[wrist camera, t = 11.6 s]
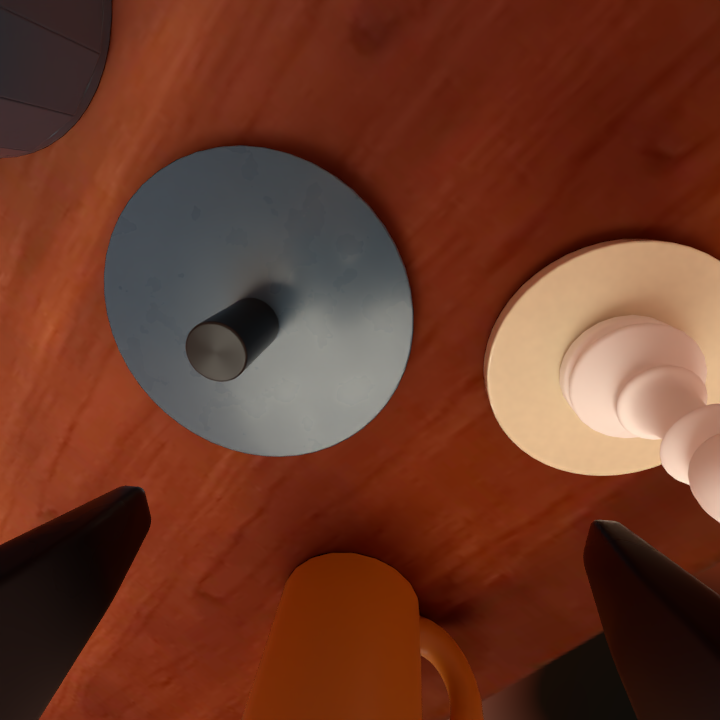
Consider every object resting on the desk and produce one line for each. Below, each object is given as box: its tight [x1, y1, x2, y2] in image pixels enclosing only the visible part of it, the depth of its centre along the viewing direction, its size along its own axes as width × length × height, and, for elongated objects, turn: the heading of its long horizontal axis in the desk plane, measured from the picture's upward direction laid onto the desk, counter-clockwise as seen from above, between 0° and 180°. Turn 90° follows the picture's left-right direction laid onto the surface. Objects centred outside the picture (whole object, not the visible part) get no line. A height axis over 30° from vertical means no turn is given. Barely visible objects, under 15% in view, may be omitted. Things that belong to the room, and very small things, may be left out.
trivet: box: [484, 239, 720, 476], centre depth 18 cm, size 11×11×1 cm
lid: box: [104, 145, 413, 457], centre depth 17 cm, size 15×15×5 cm
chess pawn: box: [559, 315, 720, 523], centre depth 13 cm, size 5×5×9 cm
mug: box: [241, 553, 483, 720], centre depth 22 cm, size 9×12×9 cm
